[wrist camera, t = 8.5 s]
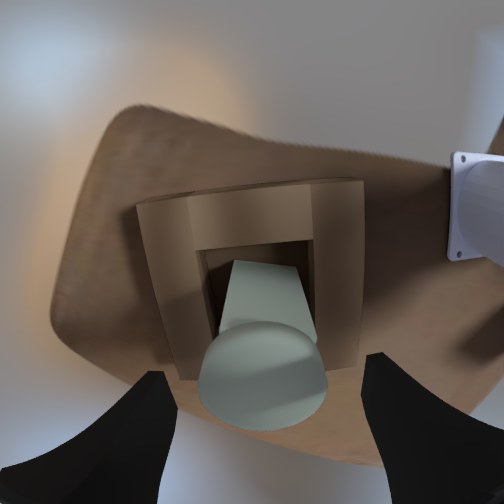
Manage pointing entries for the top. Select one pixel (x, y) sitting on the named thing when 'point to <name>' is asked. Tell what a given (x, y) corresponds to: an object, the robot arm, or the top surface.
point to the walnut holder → (251, 233)
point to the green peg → (263, 352)
